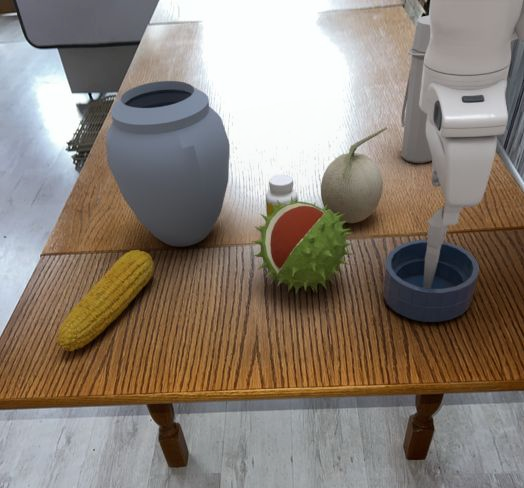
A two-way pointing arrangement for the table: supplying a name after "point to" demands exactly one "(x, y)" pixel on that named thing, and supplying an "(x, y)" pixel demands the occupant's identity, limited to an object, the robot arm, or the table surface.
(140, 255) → the food
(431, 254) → the pen
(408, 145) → the water bottle
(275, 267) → the chestnut
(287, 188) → the supplement bottle
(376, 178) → the fruit
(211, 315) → the table surface
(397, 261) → the bowl
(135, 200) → the vase
